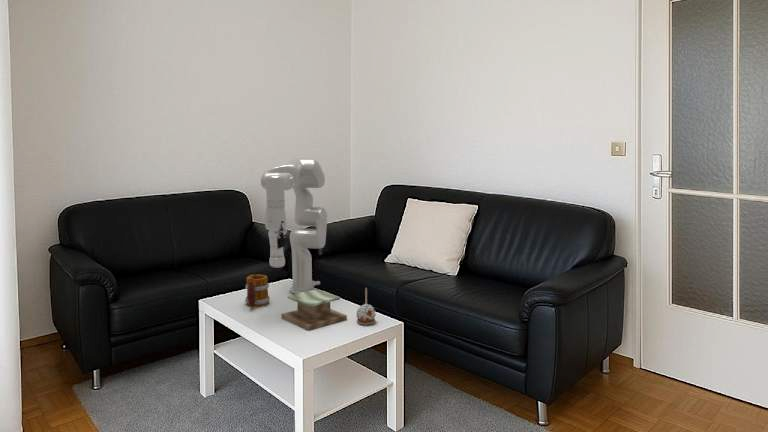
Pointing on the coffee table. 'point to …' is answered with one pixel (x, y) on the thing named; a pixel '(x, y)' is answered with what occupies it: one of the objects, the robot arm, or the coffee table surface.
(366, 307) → the decorative ornament
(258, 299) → the mug
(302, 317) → the walnut stand
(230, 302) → the coffee table surface
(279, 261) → the plastic bottle
